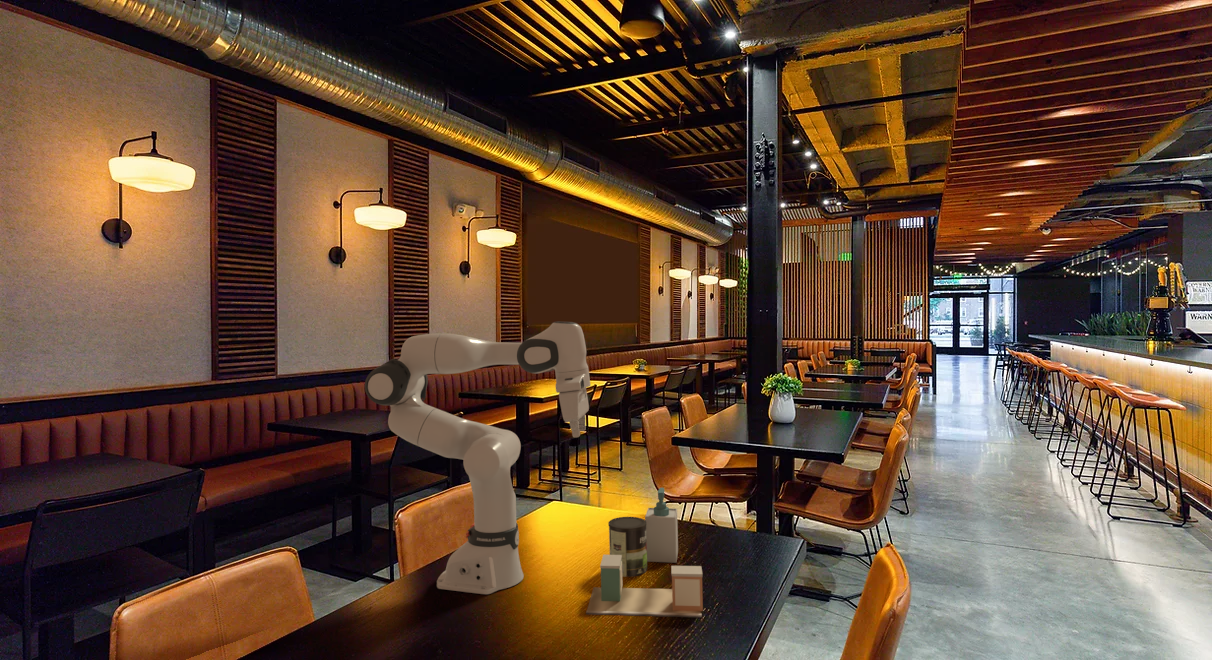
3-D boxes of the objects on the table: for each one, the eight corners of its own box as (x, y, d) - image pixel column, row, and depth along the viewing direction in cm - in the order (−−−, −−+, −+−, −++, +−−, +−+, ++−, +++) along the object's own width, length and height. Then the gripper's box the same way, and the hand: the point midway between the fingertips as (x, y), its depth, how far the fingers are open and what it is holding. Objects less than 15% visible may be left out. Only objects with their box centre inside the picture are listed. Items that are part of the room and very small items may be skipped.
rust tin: (672, 601, 138) (671, 565, 139) (702, 602, 138) (701, 566, 138) (672, 610, 134) (671, 573, 134) (703, 611, 133) (702, 574, 133)
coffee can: (650, 568, 162) (648, 516, 162) (645, 583, 152) (643, 529, 152) (613, 565, 164) (612, 515, 164) (606, 581, 154) (604, 527, 154)
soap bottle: (678, 551, 174) (676, 487, 174) (676, 563, 165) (674, 495, 165) (649, 550, 175) (647, 486, 175) (646, 561, 167) (644, 494, 167)
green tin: (601, 601, 139) (600, 565, 139) (604, 588, 146) (603, 554, 146) (620, 601, 139) (619, 566, 139) (622, 588, 146) (622, 554, 146)
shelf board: (586, 620, 133) (585, 612, 133) (593, 593, 147) (593, 586, 147) (702, 624, 130) (701, 615, 130) (698, 595, 144) (698, 588, 144)
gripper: (568, 379, 166) (574, 428, 165) (553, 386, 145) (560, 442, 145) (590, 377, 165) (596, 426, 165) (578, 383, 145) (585, 439, 144)
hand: (579, 433), depth 155 cm, fingers open, 8 cm apart
